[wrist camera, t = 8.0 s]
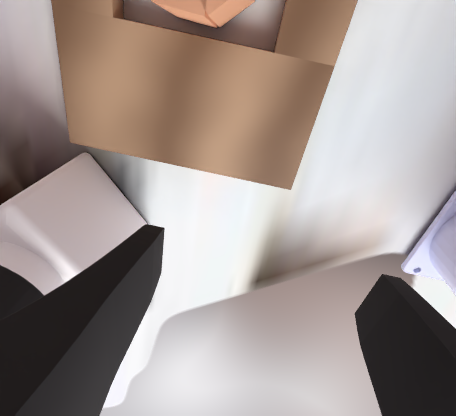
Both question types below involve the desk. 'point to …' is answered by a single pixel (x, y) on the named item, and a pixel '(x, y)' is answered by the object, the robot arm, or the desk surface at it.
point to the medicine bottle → (59, 230)
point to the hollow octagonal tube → (205, 10)
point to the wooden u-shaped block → (198, 88)
